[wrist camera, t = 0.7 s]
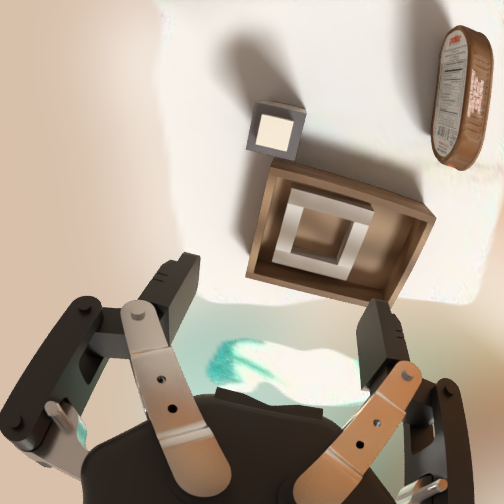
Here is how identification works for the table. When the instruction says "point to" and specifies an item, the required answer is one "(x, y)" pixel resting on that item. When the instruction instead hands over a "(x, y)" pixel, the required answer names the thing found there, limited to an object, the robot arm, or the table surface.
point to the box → (336, 235)
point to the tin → (462, 97)
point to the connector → (276, 129)
